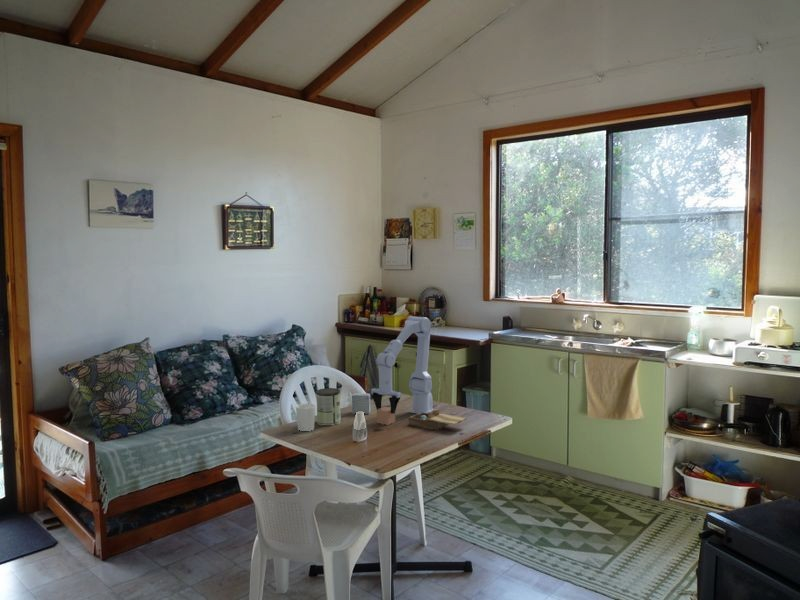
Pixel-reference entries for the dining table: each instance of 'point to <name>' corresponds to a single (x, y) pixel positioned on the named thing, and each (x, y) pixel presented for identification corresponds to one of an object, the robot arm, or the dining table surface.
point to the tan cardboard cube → (385, 416)
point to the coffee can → (328, 406)
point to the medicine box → (361, 403)
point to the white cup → (305, 417)
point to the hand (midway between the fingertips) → (386, 411)
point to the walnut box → (424, 422)
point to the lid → (444, 417)
